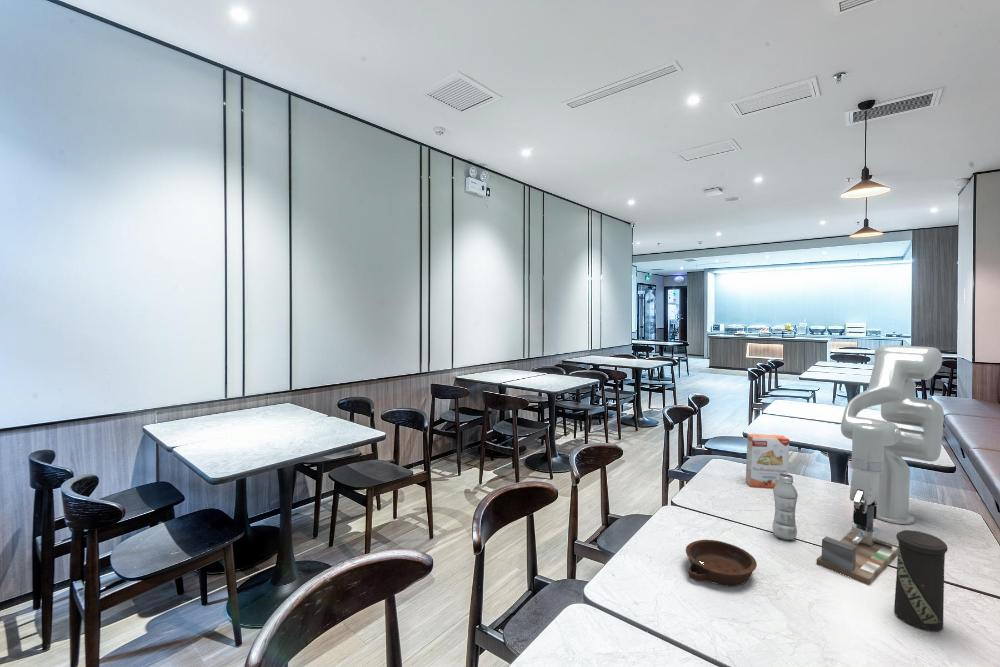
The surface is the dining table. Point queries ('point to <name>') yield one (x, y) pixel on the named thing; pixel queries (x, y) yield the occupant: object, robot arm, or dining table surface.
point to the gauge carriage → (866, 531)
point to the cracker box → (766, 459)
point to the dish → (719, 562)
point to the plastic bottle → (785, 508)
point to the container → (920, 580)
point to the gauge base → (856, 558)
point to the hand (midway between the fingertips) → (864, 520)
